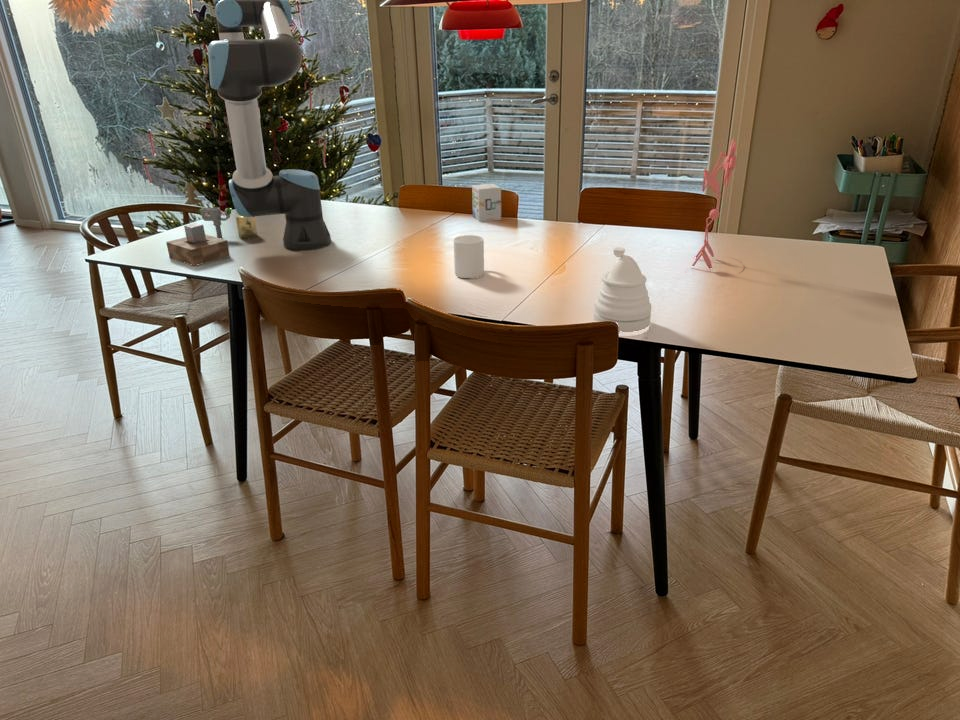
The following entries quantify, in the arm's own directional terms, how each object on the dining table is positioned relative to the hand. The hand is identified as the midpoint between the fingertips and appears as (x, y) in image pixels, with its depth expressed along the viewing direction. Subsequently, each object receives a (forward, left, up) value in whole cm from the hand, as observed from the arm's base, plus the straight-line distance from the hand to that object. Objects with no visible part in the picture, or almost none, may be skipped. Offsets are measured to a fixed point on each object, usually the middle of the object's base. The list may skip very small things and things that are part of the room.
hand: (244, 117), depth 232 cm
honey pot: (-146, +5, -37) cm, 151 cm away
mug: (-94, -4, -37) cm, 101 cm away
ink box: (-59, -55, -37) cm, 89 cm away
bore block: (-16, +34, -37) cm, 52 cm away
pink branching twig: (-147, -50, -37) cm, 160 cm away
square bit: (-16, +34, -37) cm, 52 cm away
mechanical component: (-2, +18, -37) cm, 41 cm away
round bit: (-8, +11, -37) cm, 39 cm away
